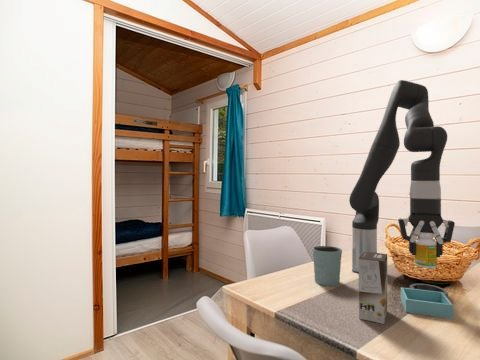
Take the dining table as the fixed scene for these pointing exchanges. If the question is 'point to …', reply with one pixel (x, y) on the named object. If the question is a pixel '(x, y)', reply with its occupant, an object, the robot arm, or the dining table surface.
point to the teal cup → (327, 265)
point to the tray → (426, 302)
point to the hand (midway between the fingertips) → (425, 255)
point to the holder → (428, 288)
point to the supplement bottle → (425, 250)
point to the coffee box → (373, 287)
